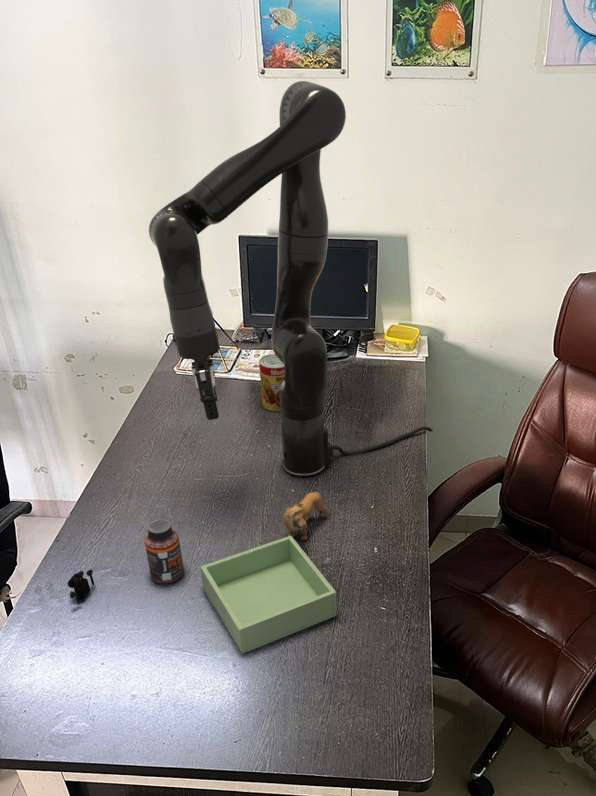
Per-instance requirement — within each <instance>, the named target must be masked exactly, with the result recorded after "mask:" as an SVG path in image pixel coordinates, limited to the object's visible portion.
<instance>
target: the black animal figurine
mask: <svg viewBox="0 0 596 796" xmlns="http://www.w3.org/2000/svg"><path fill="white" fill-rule="evenodd" d="M93 573H94V572H93V569H88V570H87V571H86V576H88V577H89V579H90V583H91V586H95V581H94V577H93ZM84 575H85V573H84V571H83V570H80V571H78V572H76V573H73V575H72V576H71V577H70V579H68V582H67V586H68V588H70V589H73V591H70V592H69V597H70V599H74V598H75V599H76V603H77V605H81V601H84V600H85V599H86V598H87V596H88V595H89V594H90V592H91V587H90V583H89V579H88V578H85V577H84Z"/></svg>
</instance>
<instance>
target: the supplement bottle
mask: <svg viewBox="0 0 596 796" xmlns="http://www.w3.org/2000/svg"><path fill="white" fill-rule="evenodd" d="M144 548H145V552H146V557H147V562H148V567H149V573H150V577H151V579H152V580H153V581H154V582H156V583H158V584H171V583H174V582H176V581H178V580H179V579H181V578H182V577H183V575H184V572H185V568H184V562H183V556H182V549H181V542H180V536H179V534H178V532H177V531H176V530H175V529H173V527H172V524H171V522H170V521H169V520H167V519H163V518H161V519H155V520H153V521H151V522H150V523H148V525H147V533H146V534H145V536H144Z"/></svg>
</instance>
